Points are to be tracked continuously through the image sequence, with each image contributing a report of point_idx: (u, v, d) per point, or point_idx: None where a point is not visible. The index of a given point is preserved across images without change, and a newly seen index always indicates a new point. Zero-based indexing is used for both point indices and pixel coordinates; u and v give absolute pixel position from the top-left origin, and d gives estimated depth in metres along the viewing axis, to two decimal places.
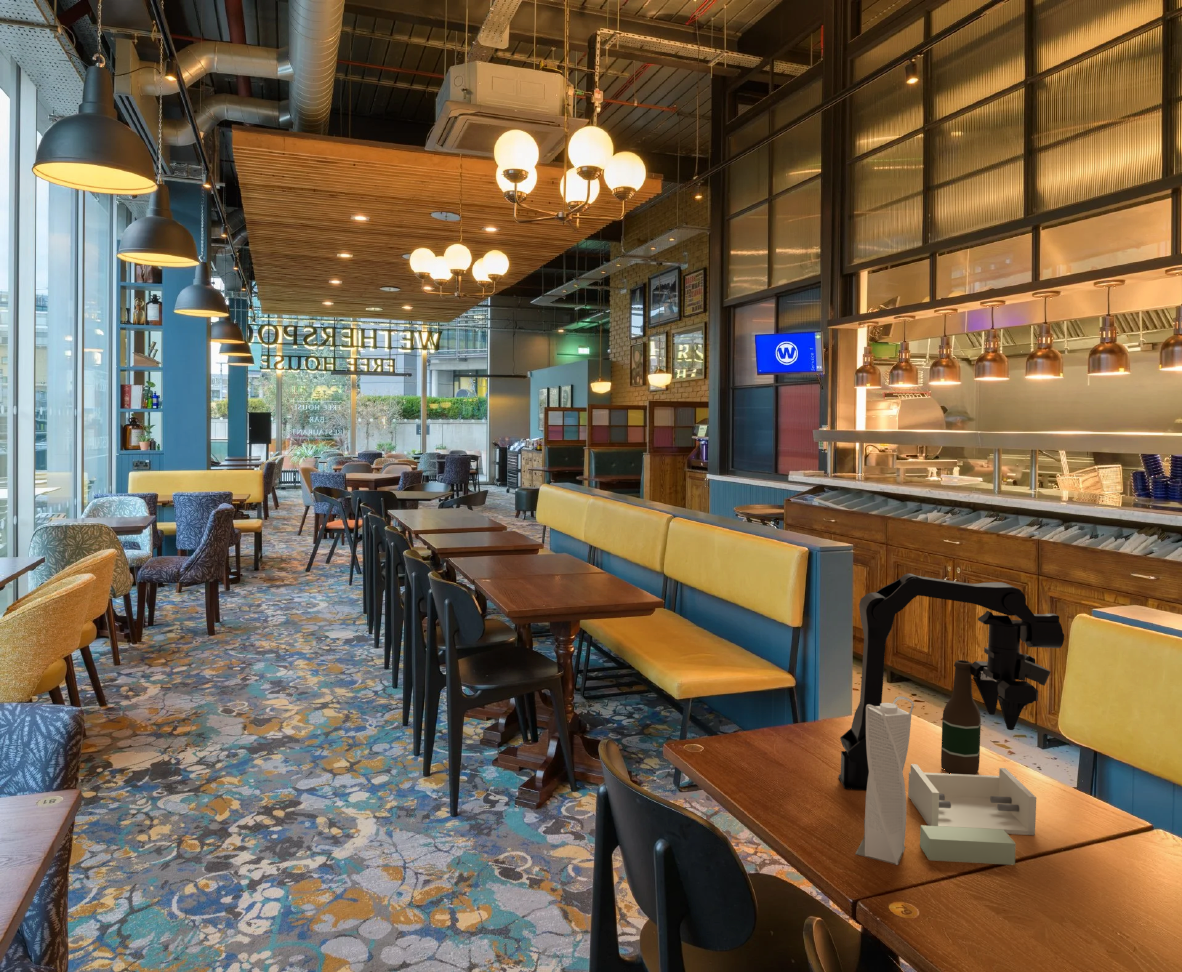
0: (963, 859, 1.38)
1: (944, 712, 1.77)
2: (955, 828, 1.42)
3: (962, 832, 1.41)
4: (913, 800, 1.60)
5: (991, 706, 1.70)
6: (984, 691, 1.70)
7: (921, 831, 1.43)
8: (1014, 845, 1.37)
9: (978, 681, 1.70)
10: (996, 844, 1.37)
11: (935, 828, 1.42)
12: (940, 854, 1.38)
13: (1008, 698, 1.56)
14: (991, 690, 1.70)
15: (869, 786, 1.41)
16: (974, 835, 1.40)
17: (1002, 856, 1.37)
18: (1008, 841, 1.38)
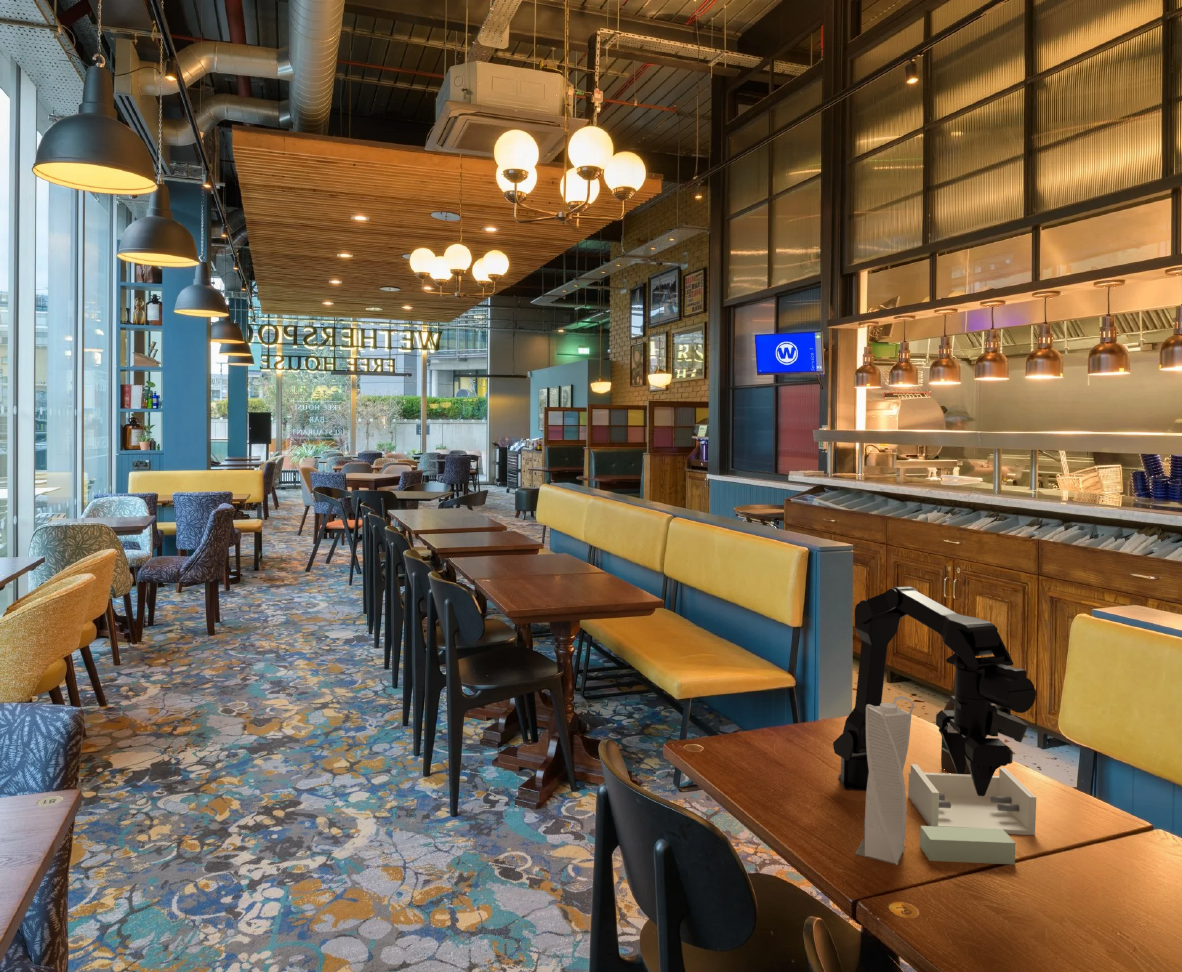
0: (963, 859, 1.38)
1: None
2: (954, 828, 1.42)
3: (962, 832, 1.41)
4: (913, 800, 1.60)
5: (960, 764, 1.44)
6: (951, 746, 1.45)
7: (921, 831, 1.43)
8: (1014, 844, 1.37)
9: (944, 735, 1.45)
10: (996, 844, 1.37)
11: (935, 828, 1.42)
12: (940, 855, 1.38)
13: (977, 760, 1.31)
14: (960, 745, 1.45)
15: (869, 786, 1.41)
16: (974, 835, 1.40)
17: (1002, 856, 1.37)
18: (1008, 840, 1.38)
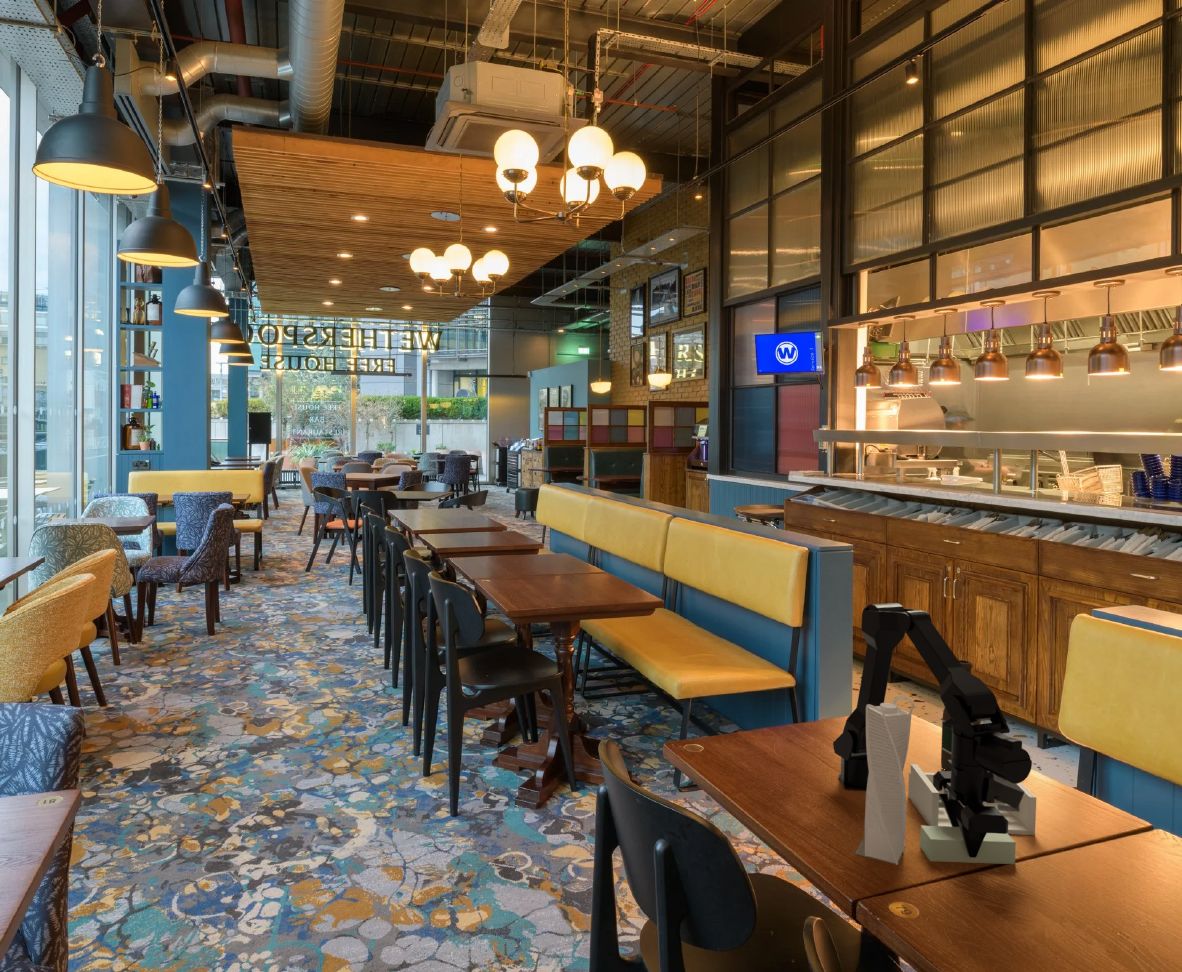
0: (964, 859, 1.38)
1: (944, 712, 1.77)
2: (955, 828, 1.42)
3: None
4: (913, 800, 1.60)
5: None
6: (952, 813, 1.43)
7: (921, 831, 1.42)
8: (1014, 844, 1.37)
9: (945, 801, 1.43)
10: (996, 843, 1.37)
11: (935, 828, 1.42)
12: (941, 854, 1.38)
13: (972, 830, 1.31)
14: (960, 812, 1.43)
15: (869, 786, 1.41)
16: None
17: (1002, 855, 1.37)
18: (1008, 840, 1.38)
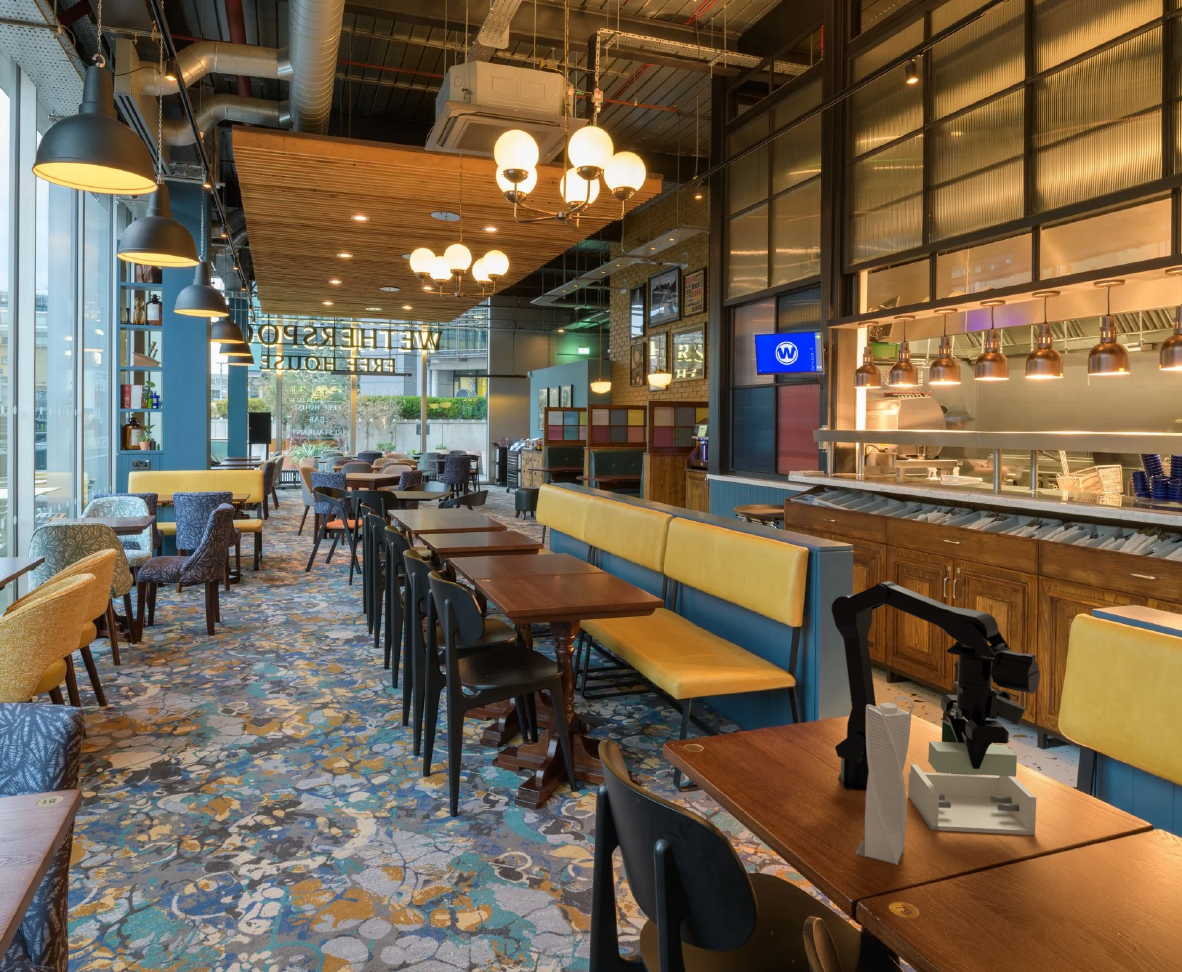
0: (968, 770, 1.50)
1: (944, 712, 1.77)
2: (961, 743, 1.54)
3: None
4: (913, 800, 1.60)
5: None
6: (958, 731, 1.55)
7: (929, 746, 1.55)
8: (1015, 756, 1.49)
9: (951, 720, 1.55)
10: (999, 756, 1.49)
11: (942, 743, 1.54)
12: (947, 765, 1.50)
13: (975, 740, 1.43)
14: (965, 731, 1.55)
15: (869, 786, 1.41)
16: None
17: (1004, 767, 1.49)
18: (1010, 753, 1.50)
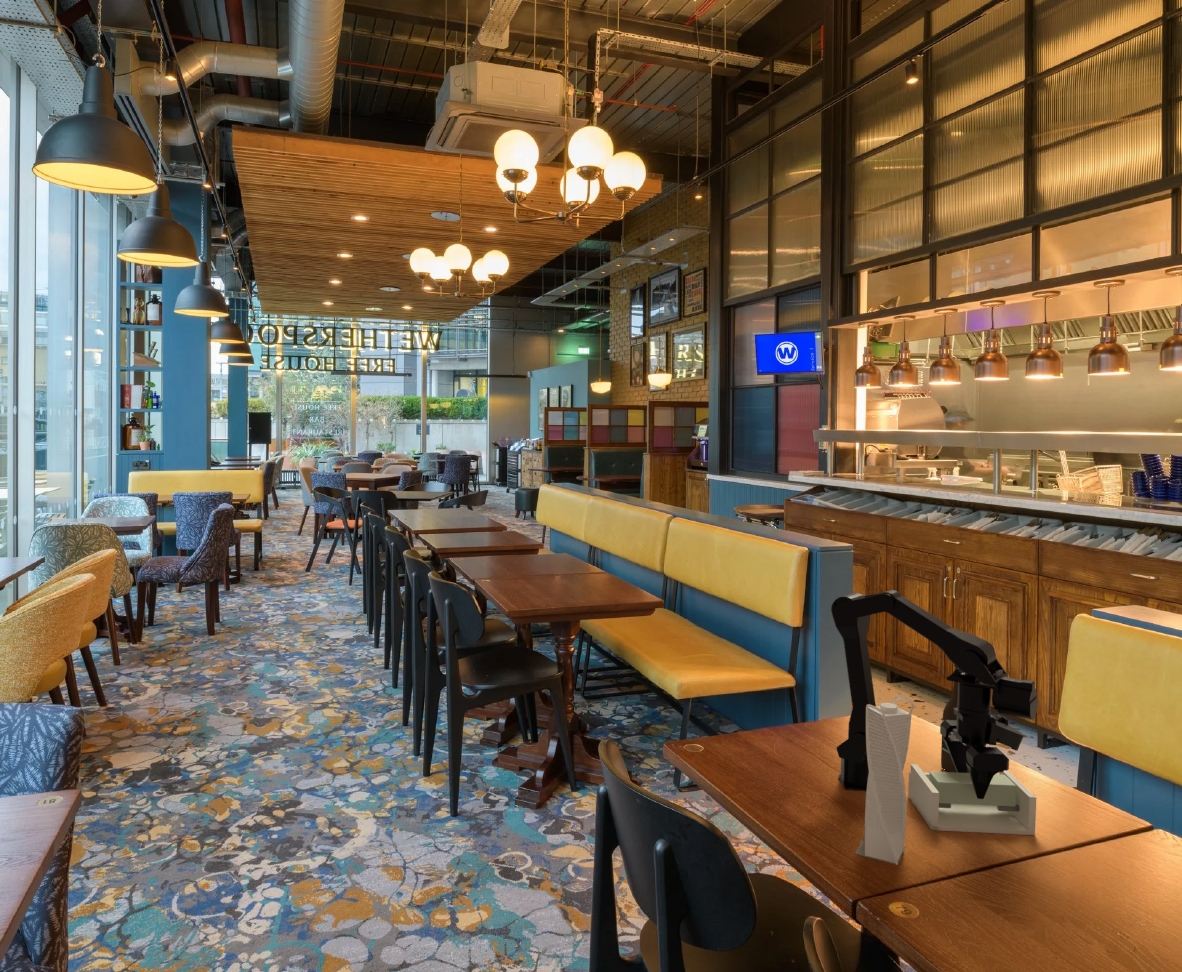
0: (968, 800, 1.52)
1: (944, 712, 1.77)
2: (960, 774, 1.56)
3: (967, 777, 1.55)
4: (913, 800, 1.60)
5: (961, 769, 1.59)
6: (954, 753, 1.59)
7: (930, 776, 1.57)
8: (1014, 787, 1.51)
9: (948, 742, 1.59)
10: (998, 786, 1.51)
11: (943, 773, 1.56)
12: (947, 796, 1.52)
13: (977, 767, 1.45)
14: (961, 752, 1.59)
15: (869, 786, 1.41)
16: None
17: (1003, 797, 1.52)
18: (1009, 783, 1.52)
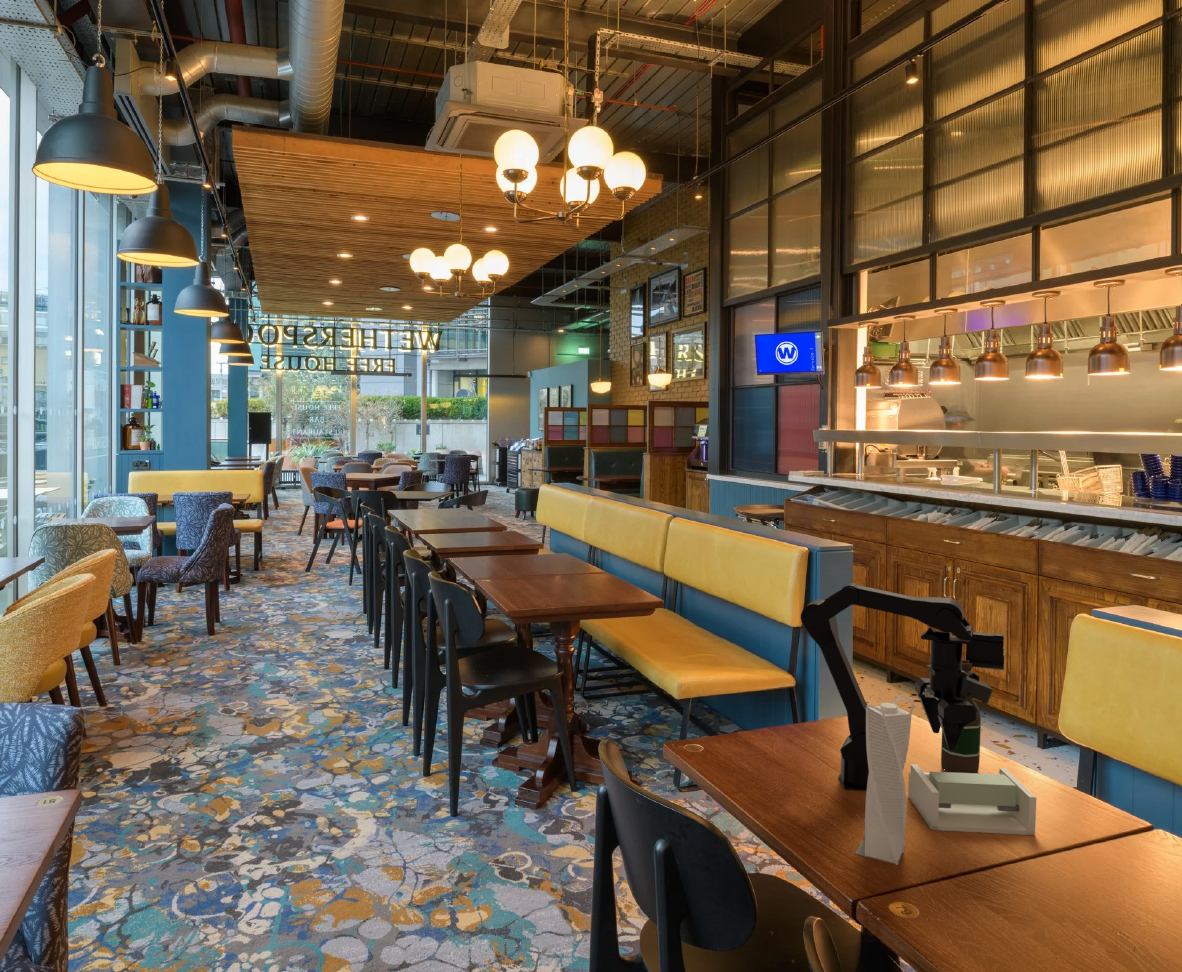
0: (968, 800, 1.52)
1: None
2: (960, 774, 1.56)
3: (967, 777, 1.55)
4: (913, 800, 1.60)
5: (935, 724, 1.66)
6: (928, 709, 1.66)
7: (930, 776, 1.57)
8: (1014, 787, 1.51)
9: (922, 699, 1.66)
10: (998, 786, 1.51)
11: (943, 773, 1.56)
12: (947, 796, 1.52)
13: (947, 718, 1.52)
14: (935, 708, 1.66)
15: (869, 786, 1.41)
16: (979, 779, 1.54)
17: (1003, 797, 1.52)
18: (1009, 783, 1.52)
